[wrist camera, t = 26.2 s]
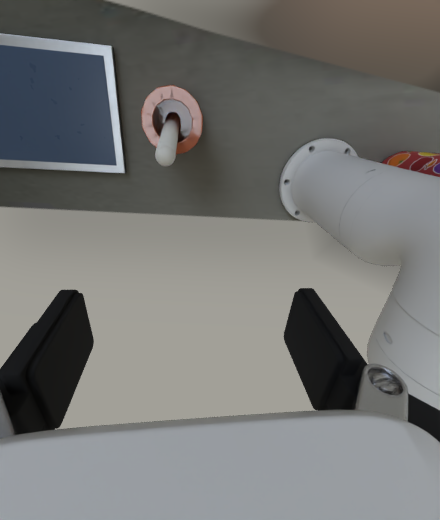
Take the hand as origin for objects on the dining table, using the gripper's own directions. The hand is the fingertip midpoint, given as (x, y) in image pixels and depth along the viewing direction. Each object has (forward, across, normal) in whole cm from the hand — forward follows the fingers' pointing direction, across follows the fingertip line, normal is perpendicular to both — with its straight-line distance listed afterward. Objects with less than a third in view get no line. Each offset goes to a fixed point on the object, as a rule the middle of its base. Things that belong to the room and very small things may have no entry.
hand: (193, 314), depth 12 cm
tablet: (+30, +19, -7) cm, 36 cm away
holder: (+30, +2, -7) cm, 31 cm away
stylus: (+30, +2, -7) cm, 31 cm away
